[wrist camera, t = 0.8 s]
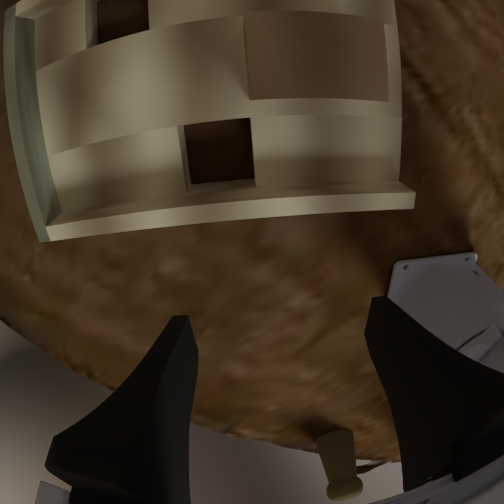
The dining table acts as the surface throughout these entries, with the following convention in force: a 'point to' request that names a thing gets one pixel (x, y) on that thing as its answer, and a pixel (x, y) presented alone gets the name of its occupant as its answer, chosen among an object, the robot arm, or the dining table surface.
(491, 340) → the robot arm
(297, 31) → the walnut block
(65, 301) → the dining table surface
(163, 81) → the trap box
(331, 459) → the cork
